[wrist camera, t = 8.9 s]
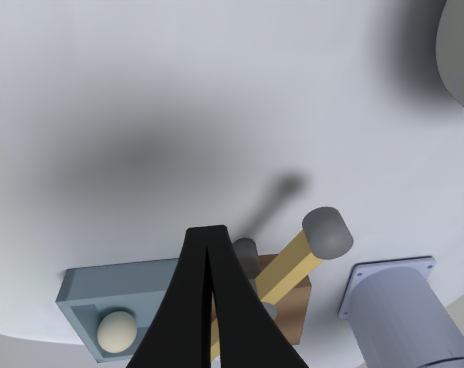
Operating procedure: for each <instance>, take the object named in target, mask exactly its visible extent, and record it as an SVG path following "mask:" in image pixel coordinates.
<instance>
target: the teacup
mask: <svg viewBox="0 0 464 368" xmlns="http://www.w3.org/2000/svg"><path fill="white" fill-rule="evenodd" d="M436 60H437V66H438V71H439V73H440V76H441V79H442V81H443V83H444V85H445V86H446V88H447V89H448V91H449V92H450V94H451V95H452V96H453V97H454V98H455V99H456V100H457V101H458V102H459V103H460V104H461V105H462V106H463V107H464V0H447V2H446V4H445V7H444V9H443V12H442V15H441V18H440V22H439V26H438V31H437V37H436Z"/></svg>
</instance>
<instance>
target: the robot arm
mask: <svg viewBox="0 0 464 368" xmlns="http://www.w3.org/2000/svg"><path fill="white" fill-rule="evenodd" d="M436 262H437V261H436V260H435V258H421V259H412V260H402V261H393V262H383V263H374V264H364V265H358V266H356V267H355V268H354V271H353V274H352V276H351V279H350V282H349V285H348V288H347V291H346V294H345V297H344V300H343V303H342V306H341V309H340V312H339V315H338V317H339V319H340V320H348V321H349V323H350V326H351V328H352V330H353V333H354V335H355V338H356V340H357V343H358V345H359V348H360V350H361V353H362V355H363V358H364V360H365V362H366V365H367V367H368V368H464V336H463V335H462V333H461V332H460V330H459V329H458V327H457V326H456V324H455V323H454V321H453V320H452V318H451V317H450V315H449V314H448V313H447V311H446V310H445V308H444V307H443V305H442V304H441V302H440V301H439V299H438V298H437V296H436V295H435V293H434V292H433V290H432V289H431V288H430V286H429V285H428V283H427V282H426V280H427V278H428V276H429V275H430V273H431V271H432V269H433V268H434V266H435V264H436ZM212 291H213V297H214V303H215V310H216V316H217V323H218V329H219V345H220V361H221V368H309V367H308V366H307V364H306V363H305V362H304V361H303V359H302V358H301V357H300V356H299V354H298V353H297V352H296V350H295V349H294V348H293V347H292V345H291V344H290V343H289V342H288V340H287V339H286V338H285V336H284V335H283V333H282V332H281V331H280V329H279V328H278V326H277V325H276V324H275V322H274V321H273V319H272V318H271V316H270V315H269V313H268V312H267V310H266V309H265V307H264V305H263V304H262V302H261V301H260V299H259V297H258V296H257V294H256V292H255V291H254V289H253V287H252V285H251V284H250V282H249V280H248V278H247V276H246V274H245V272H244V270H243V268H242V266H241V264H240V262H239V260H238V258H237V256H236V253H235V251H234V248H233V246H232V243H231V241H230V238H229V234H228V230H227V227H226V226H225V225H215V226H205V227H194V228H188V229H187V230H186V234H185V239H184V243H183V247H182V251H181V254H180V257H179V260H178V263H177V266H176V268H175V271H174V274H173V276H172V279H171V281H170V284H169V286H168V289H167V291H166V293H165V295H164V298H163V300H162V302H161V304H160V307H159V309H158V311H157V313H156V315H155V317H154V319H153V321H152V323H151V325H150V327H149V328H148V330H147V332H146V334H145V336H144V338H143V339H142V341H141V343H140V345H139V346H138V348H137V350H136V352H135V353H134V355H133V357H132V358H131V360H130V362H129V363H128V365H127V367H126V368H211V324H212Z"/></svg>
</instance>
